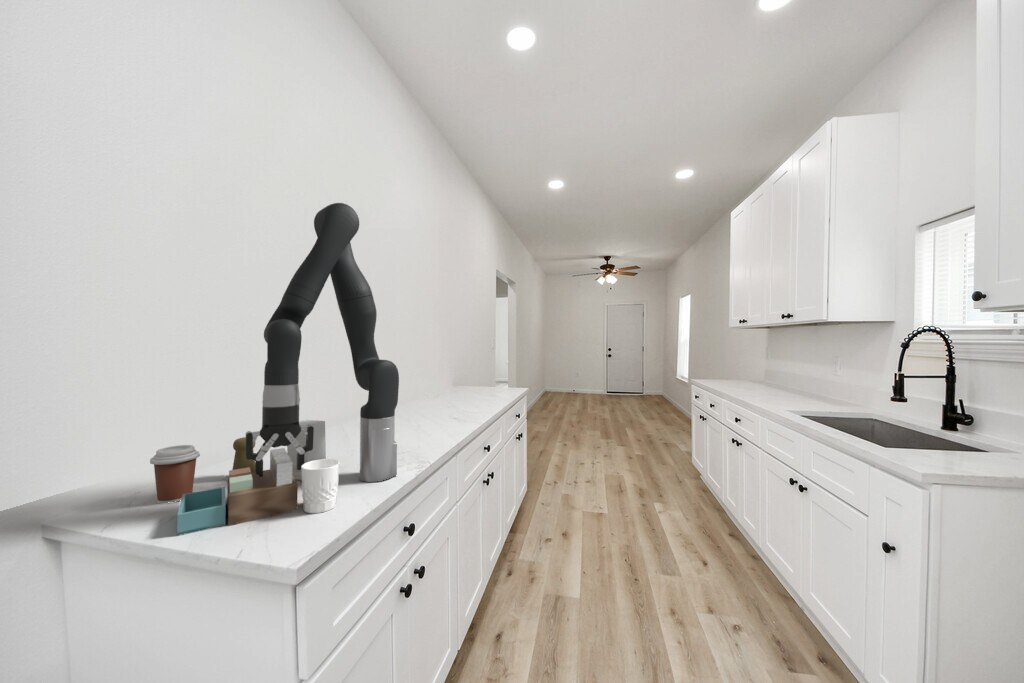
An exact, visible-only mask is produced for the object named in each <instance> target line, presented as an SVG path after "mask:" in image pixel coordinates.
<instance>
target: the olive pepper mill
mask: <svg viewBox="0 0 1024 683" xmlns="http://www.w3.org/2000/svg"><path fill="white" fill-rule="evenodd" d="M255 446H256V441H254V442H253V449H254V448H255ZM232 448H233V450H234V451H235V453H234V456H233V464H232V470H236V469H242V468H249V467H250V470H251V472H255V460H251V459H250V460H248V459H247V458H246V436H243V437H239V438H236V439H235V440H234V442H233V444H232ZM253 453H255V452H254V451H253Z"/></svg>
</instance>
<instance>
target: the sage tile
mask: <svg viewBox="0 0 1024 683" xmlns="http://www.w3.org/2000/svg"><path fill="white" fill-rule="evenodd" d="M252 488H253V479H252V474H250V475H244V476H238V477H232V478H229V489H230V493H231V492H236V491H242V490H247V489H252Z"/></svg>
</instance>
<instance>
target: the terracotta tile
mask: <svg viewBox="0 0 1024 683" xmlns="http://www.w3.org/2000/svg"><path fill="white" fill-rule="evenodd" d="M250 474H251V470H250V467H249V468H242V469H236V470H231V469H230V470H228V476H229V478H232V477H238V476H244V475H250Z"/></svg>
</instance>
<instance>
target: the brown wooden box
mask: <svg viewBox="0 0 1024 683" xmlns="http://www.w3.org/2000/svg"><path fill="white" fill-rule="evenodd" d="M251 474H252V479H253V488H252V489H247V490H242V491H236V492H231V493H230V489H229V475H228V476H227V485H226V486H227V494H226V495H227V499H226V500H227V501H226V504H227V522H228V523H227V526H228V527H229V526H233V525H238V524H239V525H240V524H243V523H246V522H251V521H256V520H260V519H264V518H270V517H273V516H278V515H282V514H286V513H291V512H296V511H298V492H299V491H298V487H299V486H298V482H297V479H295V478H294V476H293V474H292V484H289V485H284V486H278V487H277V486H276V484H275V481H274V479H273V476H272V474H271V471H270V468H269V469H263V476H262V477H259V475H256V472H251Z"/></svg>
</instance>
